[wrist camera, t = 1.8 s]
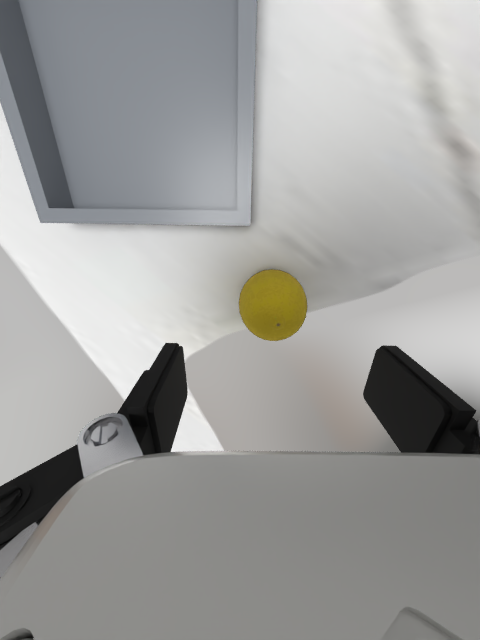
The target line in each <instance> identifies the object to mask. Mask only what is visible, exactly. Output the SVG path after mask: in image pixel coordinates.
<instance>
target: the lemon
mask: <svg viewBox="0 0 480 640" xmlns="http://www.w3.org/2000/svg"><path fill="white" fill-rule="evenodd" d="M239 310H240V315H241V317H242V320H243V322H244V324H245V325H246V326H247V328H248V329H249V330H250V331H251V332H252V333H253V334H254V335H256V336H257V337H259V338H262V339H264V340H270V341H278V340H282V339H286V338H288V337H290V336H292V335H293V334H294V333H296V332H297V331H298V330H299V328H300V327H301V326H302V324H303V322H304V320H305V318H306V312H307V300H306V295H305V293H304V290H303V288H302V286H301V285H300V283H299V282H298V281H297V280H296V279H295V278H294V277H293V276H291V275H290V274H288V273H286V272H283V271H281V270H273V269H271V270H264V271H261V272H259V273H257V274H255V275H254V276H252V277H251V278H250V279H249V280H248V281H247V282H246V284H245V285H244V287H243V289H242V291H241V293H240V299H239Z"/></svg>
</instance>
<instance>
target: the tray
mask: <svg viewBox="0 0 480 640" xmlns="http://www.w3.org/2000/svg"><path fill="white" fill-rule="evenodd" d="M256 19H257V0H0V102H1V105H2V108H3V111H4V114H5V117H6V120H7V123H8V126H9V129H10V132H11V135H12V139H13V142H14V145H15V148H16V151H17V154H18V157H19V160H20V163H21V166H22V169H23V172H24V175H25V178H26V181H27V184H28V187H29V190H30V193H31V196H32V199H33V202H34V205H35V208H36V211H37V214H38V217H39V220H40V223H95V224H164V225H232V226H250V222H251V188H252V154H253V120H254V86H255V52H256Z"/></svg>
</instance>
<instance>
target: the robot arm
mask: <svg viewBox="0 0 480 640" xmlns="http://www.w3.org/2000/svg"><path fill="white" fill-rule="evenodd" d="M363 395H364V399H365V400H366V402H367V404H368V405H369V406H370V408H371V409H372V411H373V412H374V414H375V415H376V416H377V418H378V420H379V421H380V422H381V424H382V425H383V427H384V428H385V429H386V431H387V433H388V434H389V435H390V437H391V438H392V440H393V441H394V443H395V444H396V446H397V447H398V448H399V450H400V451H401V453H398V452H397V453H396V452H316V451H315V452H314V451H312V452H311V451H304V452H303V451H187V452H171V448H172V445H173V442H174V438H175V435H176V432H177V428H178V425H179V422H180V418H181V415H182V412H183V408H184V405H185V402H186V399H187V382H186V372H185V363H184V354H183V347H182V346H179V344H178V343H165V345H164V346H163V348H162V350H161V351H160V353H159V355H158V356H157V358H156V360H155V361H154V363H153V364H152V366H151V368H150V369H149V370H146V371H144V372H143V374H142V375H141V377H140V378H139V380H138V381H137V383H136V385H135V386H134V388H133V389H132V391H131V392H130V394H129V396H128V397H127V399H126V400H125V402H124V403H123V405H122V407H121V408H120V410H119V411H118V413H111V414H106V415H103V416H100V417H98V418H96V419H94V420H92V421H91V422H90V423H89V424H87V425H86V426H85V427H84V428H83V430H82V431H81V432H80V434H79V436H78V439H77V445H75V446H73V447H72V448H70V449H68V450H66V451H64V452H62V453H61V454H59V455H57V456H55V457H53V458H51V459H50V460H48V461H46V462H44V463H42V464H40V465H39V466H37V467H35V468H33V469H31V470H29V471H28V472H26V473H24V474H22V475H20V476H18V477H17V478H15V479H13V480H11V481H9V482H7V483H5V484H4V485H2V486H0V640H33V638H34V640H480V419H478V421H476V420H475V419H474V418H472V417H473V416H474V414H475V412H476V410H475V409H474V408H472V407H471V406H470V405H469V404H467V403H466V402H465V401H464V400H463V399H461V398H460V397H459V396H457V395H456V394H455V393H454V392H453V391H451V390H450V389H449V388H448V387H446V386H445V385H444V384H443V383H441V382H440V381H439V380H438V379H437V378H435V377H434V376H433V375H431V374H430V373H429V372H428V371H426V370H425V369H424V368H423V367H422V366H420V365H419V364H418V363H417V362H416V361H414V360H413V359H412V358H411V357H409V356H408V355H407V354H406V353H404V352H403V351H402V350H401V349H399V348H398V347H397V346H381V347H380V348H379V349H377V350H376V353H375V356H374V359H373V363H372V366H371V369H370V372H369V376H368V379H367V382H366V386H365V389H364V393H363Z"/></svg>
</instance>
